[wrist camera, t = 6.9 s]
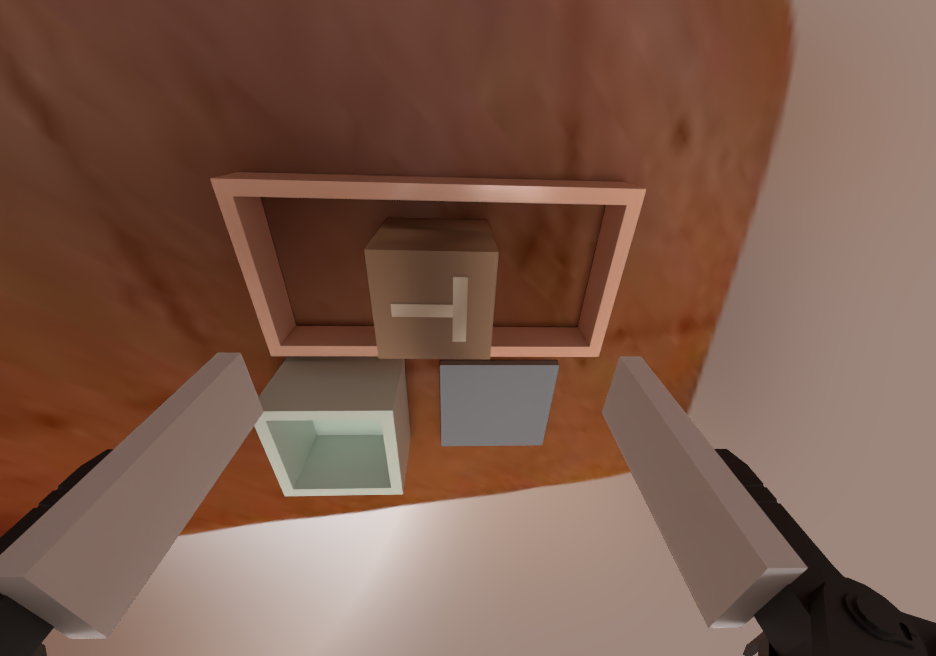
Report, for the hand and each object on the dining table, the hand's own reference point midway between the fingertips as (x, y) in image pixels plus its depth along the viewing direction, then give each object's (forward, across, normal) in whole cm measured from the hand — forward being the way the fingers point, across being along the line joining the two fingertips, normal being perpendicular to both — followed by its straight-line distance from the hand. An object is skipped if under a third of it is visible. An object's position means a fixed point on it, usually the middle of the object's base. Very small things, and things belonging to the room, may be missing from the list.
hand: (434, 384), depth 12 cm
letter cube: (+11, 0, 0) cm, 11 cm away
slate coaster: (+11, +4, -12) cm, 17 cm away
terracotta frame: (+11, 0, 0) cm, 11 cm away
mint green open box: (+11, -8, -11) cm, 17 cm away
